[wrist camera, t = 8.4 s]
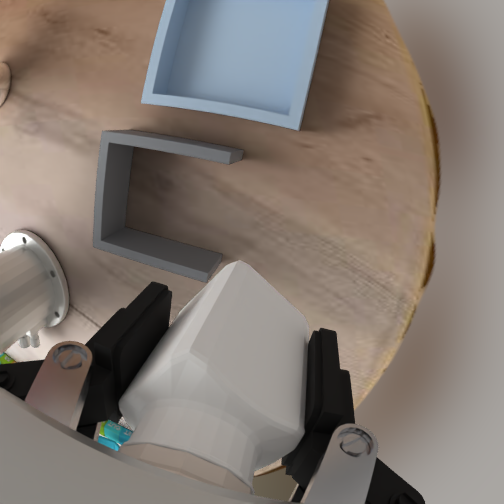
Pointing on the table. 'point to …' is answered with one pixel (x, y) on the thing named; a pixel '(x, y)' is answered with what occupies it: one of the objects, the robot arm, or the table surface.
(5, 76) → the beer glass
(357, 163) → the table surface
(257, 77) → the tray
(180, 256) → the bay
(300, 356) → the salt shaker
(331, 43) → the table surface
